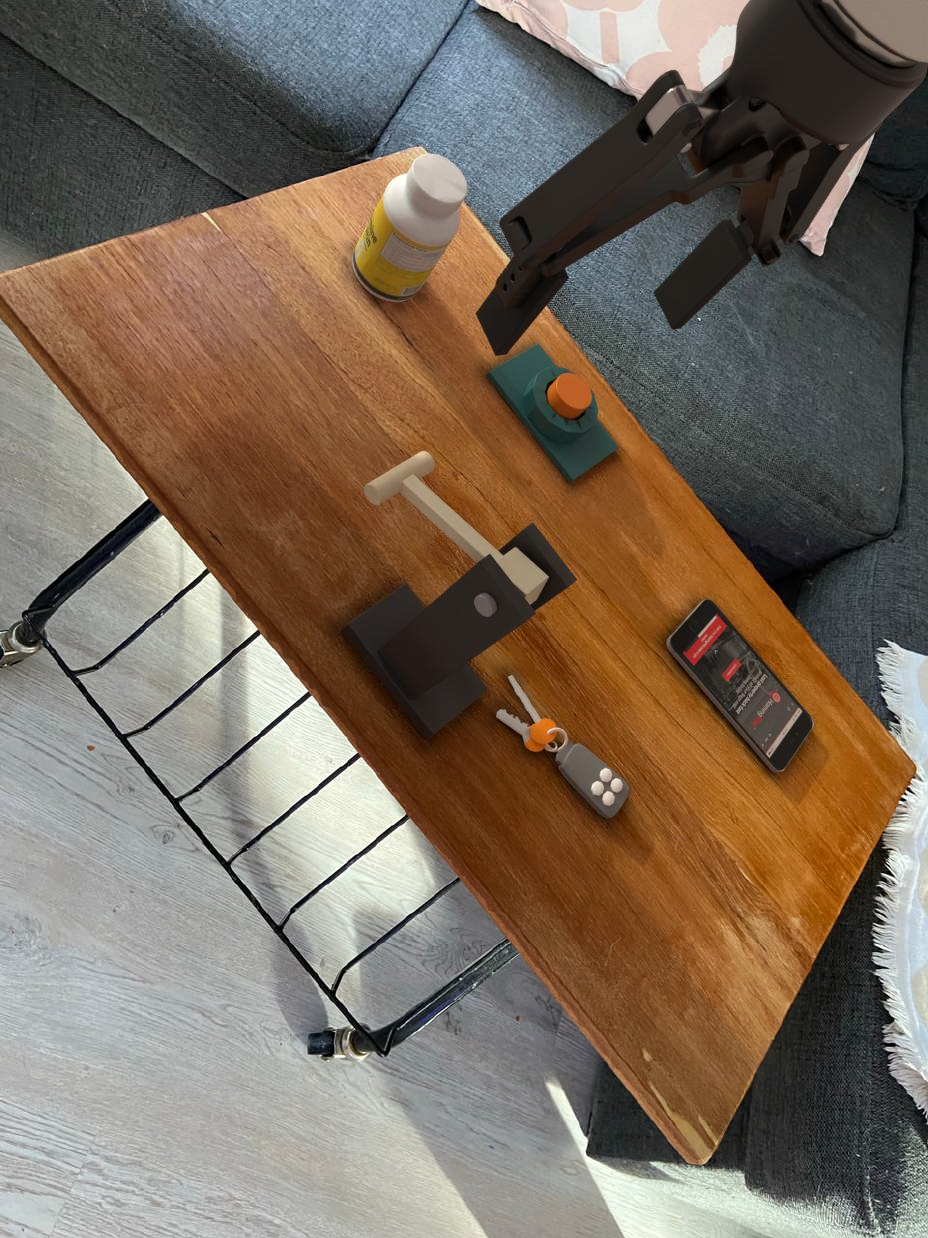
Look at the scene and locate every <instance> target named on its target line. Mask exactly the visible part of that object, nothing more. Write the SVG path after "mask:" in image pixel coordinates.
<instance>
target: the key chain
mask: <svg viewBox="0 0 928 1238" xmlns="http://www.w3.org/2000/svg"><path fill="white" fill-rule="evenodd" d="M507 679H508V681H509V682H510V684H511V686H512V688H513V690H514V693H515V694H516V696H517V697H518V699H519V700H520V701H521V703H522V705H523V708H524V709H525V710H526V712H527V713H528V715H529V716H530V717H531V719H532V720H533V722H534V723H533V724H532V725H531V726H530V725H529V724H528V723H527V722H521V720H520V718H519V717H518V716H514V714H512V713H510V714H509V713H507V709H505V708H503V709H502V708H501V709H499V710H498V711H496V716H495V717H496V719H498V720H499V721H501V722H502V723H503V724H505V725H506V726H508V727H509V728H511V729H512V730H514V731H515V732H516V733H517V734H518V735H520V736H522V740H523V745H524V747H525V748H526V749H527V750H528V751H531V752H533V753H537V752H542V751H543V750H546V751H547V752H550V753H551V752H552V753H556V755H555V763H557V764H558V771H559V772H560V774H561V775H562V776H563V778H565V780H566V781H567V782H568V783H569V784H570V785H571V786H572V788H574V790H575V791H576V792H577V793H578V794H579V795H580V796H581V798H583V799H584V800H585V801H586V803H588V805H589V806H591V808H592V809H593V810H594V811H595V812H596V813H597V814H598V815H599V816H600V817H603V818H604V819H606V820H607V819H611V818H612V817H615V816H616V815H617V814H618V812H619V811H620V810H621V808H622V806H623V805H624V803H625V801H626V799H627V798H628V796H629V793H630V786H629V785H628V783H627V782H626V780H625V779H624V778H623V777H622V776H620V775H619V774H618V773H617V772H615V770H613V769H612V768H611V767H610V766H609V765H608V764H606V763H605V762H604V761H602V759H601V758H599V756H597V755H596V754H594V753H593V752H592V750H590V749H589V748H588V747H586V746H585V745H583V744H581V743H579V742H578V743H574V742H573V741H569V737H568V733H567V732H566V731H565V730H564V729H562V728H560V727H557V724H556V723H555V722H554V720H553V719H550V718H549V717H548V718H547V717H546V718H541V716H540V714H539V713H538V712H537V710H536V709H535V707H533V705H532V703H531V701H530V698H528V696H527V694H526V693H525V691H523V689H522V687H521V686H520V684H519V683H518V681H517V680H516V679H515V677H514V676H513V674H511V675H509V676H507ZM558 732H559V733H560V734H562V736H563V738H564V741H563V744H562V745H561V746H560V747H558V744H557V742H556V741H555V738H556V737H557V735H558ZM549 743H553V744H554V745H555V746H554V747H552V746H550V744H549Z"/></svg>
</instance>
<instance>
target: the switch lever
mask: <svg viewBox="0 0 928 1238" xmlns="http://www.w3.org/2000/svg"><path fill="white" fill-rule="evenodd" d="M435 469H436V463H435V459H434V457H433V456H432V455H431V453H429V452H428V451H426V450H422V451H419V452H417V453H416V454H414V455H412V456H411V457H409V458H408V459H406V460H404V461H403V462H401V463H399V464H397V465H396V466H394V467H393V468H391V469H389V470H387V471H386V472H384V473H382V474H381V475H380V476H377V477H376V478H375V479H373V480H371V481H369V482H367V483H366V484H365V485H364V487H363V493H364V496H365V498H366V499H367V501H368V502H370V503H371V504H372V505H374V506H379V505H380V504H382V503H384V502H386V501H387V500H389V499H390V498H392V497H394V496H395V495H397V494H399V493H400V494H401V495H402V496H403V497H404V498H405V499H406V500H407V501H408V502H410V503H411V504H412V505H413V506H414V507H415V508H416V509H417V510H418V511H419V512H421V513H422V514H423V515H424V516H425V517H426V518H427V519H428V520H429V521H430V522H431V523H433V524H434V525H435V526H436V527H437V528H438V529H439V530H440V531H441V532H442V533H443V534H445V535H446V536H447V537H448V538H449V539H450V540H451V541H452V542H453V543H454V544H456V545H457V546H458V547H459V548H460V549H461V550H462V551H463V552H464V553H465V554H466V555H468V556H469V557H470V558H471V559H472V560H473V561H474V562H475V564H476V563H478V562H479V561H480V560H481V559H483V558H484V557H486V556H487V555H488V554H491V555H492V556H493V558H494V559H495V560H496V562H497V563H498V564H499V565H500V567H501V568H502V569H503V571H504V572H505V573H506V574H507V576H508V577H509V578H510V580H511V581H512V582H513V584H514V585H515V586H516V587H517V589H518V590H519V591H520V593H521V594H522V595H523V596H524V598H525V599H526V600H527V602H528V603H529V604H530V605H531V604H532V603H533V602H534V601H536V600H537V598H538V596H539V595H540V593H541V591H542V589H543V587H544V585H545V584H546V582H547V580H548V578H549V576H547V575H546V574H545V573H544V572H543V571H542V570H541V569H540V568H539V567H537V566H536V565H535V564H534V563H533V562H532V561H531V560H530V559H529V558H527V557H526V556H525V555H524V554H523V553H522V552H521V551H520V550H519V549H517V548H516V547H515V548H513V549H512V550H511V551H509V552H508V553H506V554H505V555H504V556H503V555H502V554H501V553H500V552H499V551H498V550H499V549H497V548H496V547H494V546H493V545H492V544H491V543H490V542H489V541H488V540H486V539H485V537H483V536H482V535H481V534H480V533H479V532H478V531H477V530H476V529H474V527H472V526H471V525H470V524H469V523H468V522H467V521H466V520H464V519H463V518H462V517H461V515H459V514H458V513H457V512H455V510H454V509H452V508H451V507H450V506H449V505H448V504H447V503H446V502H444V500H443V499H441V498H440V496H438V495H437V494H436V493H435V492H433V491H432V489H430V488H429V487H428V486H427V485H426V484H425V483H424V482H423V481H422V480H420V479H422V478H424V477H426V476H427V475H428V474H430V473H431V472H434V470H435Z"/></svg>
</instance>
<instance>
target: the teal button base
mask: <svg viewBox="0 0 928 1238" xmlns="http://www.w3.org/2000/svg"><path fill="white" fill-rule="evenodd" d="M565 373H572V374H575V375H577V376H579V377H581V376H580V375H578V374H576V373H575V372H573V371H571V370H570V369H568V368H567V367H562V366H561V367H559V366H557V365H556V364H555V362H554V361H553V360H552V359H551V357H550V356H549V355H548V354H547V352H546V351H545V349H544V348H543V347H542V346H541V344H540V343H536V344H535V345H533V346H531V347H529V348H528V349H526V350H524V351H522V352H520V353H519V354H516V355H515V356H513V357H511V358H509V359H508V360H506V361H504V362H503V363H501V364H499V365H497V366H495V367H494V368H492V369H490V370H488V372H487V373H486V374H485V377H486V378H487V380H488V381H489V382H490V383H491V384H492V386H493V387H494V388H495V389H496V391H497V392H498V393H499V395H500V397H501V398H502V399H503V400H504V402H506V404H507V405H508V406H509V408H510V409H511V410H512V411H513V413H514V414H515V415H516V417H517V418H518V419H519V420H520V422H521V423H522V424H523V426H524V427H525V429H526V430H527V431H528V433H530V435H531V436H532V437H533V439H534V440H535V441H536V443H537V445H539V446H540V448H541V449H542V450H543V451H544V453H545V454H546V456H547V457H548V458H549V459H550V461H551V462H552V464H554V465H555V467H556V469H557V470H558V471H559V472H560V474H561V475H562V476H563V477H564V479H565V481H567V482H568V484H572V483H573V482H574V481H575V480H578V478H580V477H582V476H583V475H584V474H586V473H587V472H588V471H589V470H591V469H593V468H594V467H596V466H597V465H598V464H599V463H601V462H602V461H604V460H605V459H606V458H607V457H609V456H610V455H612V454H613V453H615V452H616V451H617V450H618V449H619V448H620V446H619V445H618V444H617V443H616V441H615V440H614V438H613V437H612V436H611V435H610V434H609V432H608V431H607V430H606V428H605V427H604V426H603V424H602V423H601V422H600V420H599V419H598V418H597V417H598V413H599V407H598V403H597V398H596V396H595V392H594V391H593V390H592V388H591V387H590V386H589V388H590V390H591V394H592V401H591V404H590V405H589V406H588V407H587V408H586V409H585V410H584V411H583V412H582V413H581V414H580V415H579V416H578V417H577V418H575V419H565V418H562V417H560V416H559V415H557V414H556V413H555V412H554V411H553V410H552V408H551V407H550V406H549V404H548V401H547V390H548V388H549V387H550V386H551V385H552V384H553V383H554V382H555V380H556V379H557V378H558V377H559V376H560V375H562V374H565ZM581 378H582V379H583V377H581ZM583 380H584V379H583Z"/></svg>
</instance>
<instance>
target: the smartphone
mask: <svg viewBox="0 0 928 1238" xmlns="http://www.w3.org/2000/svg"><path fill="white" fill-rule="evenodd" d="M666 649H667V650H668V652H669V653H670V654H671V655H672V656H673V658H674V659H675V660H676V661H677V663H679V665H680V666H681V667H682V668H683V669H684V671H686V673H687V674H688V675H689V676H690V677H691V679H693V681H694V682H695V683H696V684H697V686H698V687H699V688H700V689H701V691H703V693H705V695H706V696H707V697H708V699H710V701H711V702H712V703H713V704H714V706H715V707H716V708H717V709H718V710H719V711H720V713H721V714H723V716H724V717H725V719H727V721H728V723H730V724H731V725H732V726H733V728H734V729H735V730H736V731H737V732H738V733H739V735H740V736H741V737H742V739H744V741H745V742H746V743H747V744H748V745H749V746H750V748H751V749H752V750H753V751H754V752H755V753H756V755H757V756H758V757H759V758H760V759H761V761H762V762H763V763H764V764H765V766H767V767H768V769H769V770H770V771H771V772H772V773H775V774H779V773H781V772H784V771H785V770H786V768H787V766H788V765H789V764H790V762H791V761H792V760H793V758H794V756H795V755H796V753H797V752H798V751H799V749H800V748H801V747H802V745H803V743H804V742H805V740H806V739H807V738H808V736H809V735H810V733H811V732H812V730H813V729H814V727H815V722H814V719H813V717H812V716H811V714H810V713H809V712H808V710H806V708H804V706H803V705H802V704H801V703H800V701H798V699H797V698H796V697H795V696H794V694H792V692H791V691H790V690H789V688H788V687H786V685H785V684H784V683H783V681H781V679H780V678H779V677H778V676H777V675H776V673H774V671H773V670H772V669H771V668H770V666H769V665H768V664H767V663H766V662H765V660H764V659H763V658H762V657H761V656H760V654H758V652H757V651H756V650H755V649H754V648H753V646H752V645H751V644H750V643H749V642H748V641H747V640H746V638H745V637H744V636H743V634H742V633H741V632H740V631H739V630H738V629H737V628H736V626H735V625H734V624H733V623H732V622H731V621H730V620H729V618H728V617H727V616H726V615H725V613H724V612H723V611H722V610H721V609H720V607H719V606H718V605H717V603H715V602H714V600H712V599H709V598H705V599H703V600H701V601H700V602H699V603H698V604H697V605H696V606H695V607H694V608H693V610H692V611H690V613H689V614H688V615H687V616H686V618H685V619H684V620H683V621H682V622H681V623H680V624H679V625H678V627H677V628H676V629H675V630H674V631H673V632H672V633H671V635H669V637H668V638H667V639H666Z"/></svg>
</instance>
